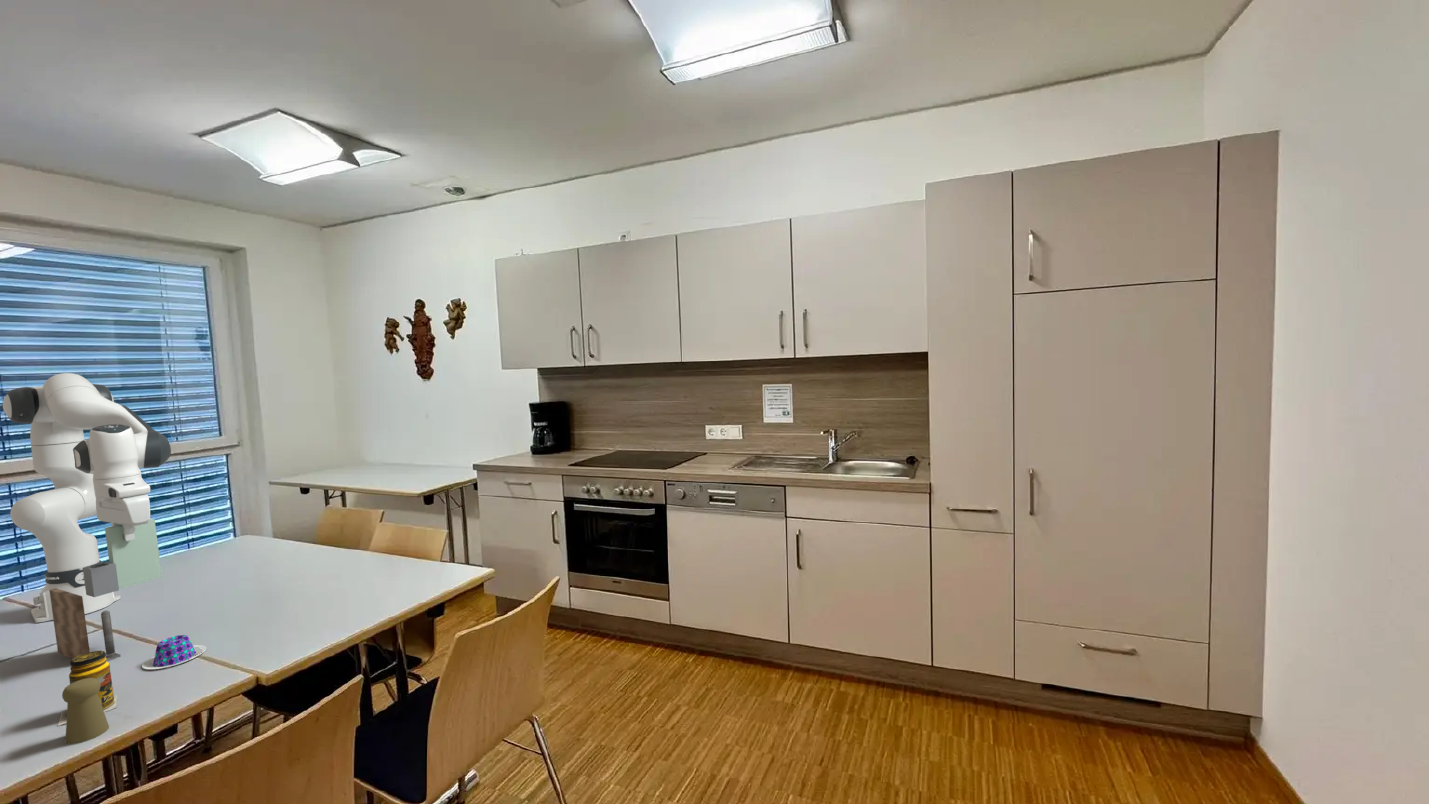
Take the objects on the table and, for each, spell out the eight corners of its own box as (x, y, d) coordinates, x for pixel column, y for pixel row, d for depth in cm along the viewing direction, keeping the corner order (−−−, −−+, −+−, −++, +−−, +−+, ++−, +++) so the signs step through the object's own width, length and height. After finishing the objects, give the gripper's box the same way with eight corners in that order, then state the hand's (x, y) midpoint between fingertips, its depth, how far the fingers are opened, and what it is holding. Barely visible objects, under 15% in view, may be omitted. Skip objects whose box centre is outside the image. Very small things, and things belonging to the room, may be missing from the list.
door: (86, 594, 148) (77, 532, 147) (155, 575, 160) (148, 518, 159) (94, 597, 146) (85, 534, 145) (163, 577, 158) (156, 519, 157)
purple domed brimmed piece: (193, 644, 157) (190, 625, 156) (215, 652, 151) (213, 633, 151) (133, 666, 146) (130, 646, 146) (155, 676, 141) (152, 655, 140)
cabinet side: (58, 652, 155) (49, 590, 154) (85, 643, 160) (77, 582, 159) (91, 666, 146) (83, 600, 145) (120, 656, 151) (112, 592, 150)
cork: (117, 725, 121) (110, 673, 120) (83, 744, 115) (76, 690, 114) (91, 724, 121) (84, 673, 120) (56, 744, 115) (48, 690, 114)
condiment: (116, 708, 127) (109, 655, 126) (57, 726, 121) (49, 671, 120) (117, 695, 132) (110, 644, 131) (61, 712, 126) (54, 659, 125)
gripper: (84, 487, 154) (91, 539, 155) (120, 492, 145) (127, 547, 146) (116, 482, 159) (123, 532, 161) (153, 486, 151) (160, 539, 152)
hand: (125, 539), depth 153 cm, fingers closed on door, 2 cm apart
